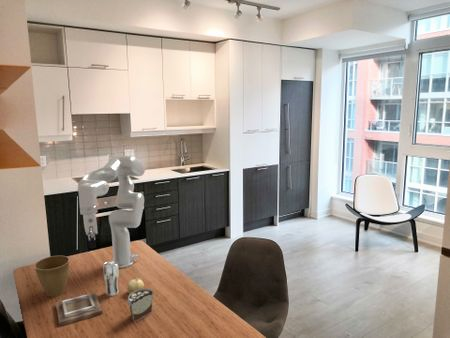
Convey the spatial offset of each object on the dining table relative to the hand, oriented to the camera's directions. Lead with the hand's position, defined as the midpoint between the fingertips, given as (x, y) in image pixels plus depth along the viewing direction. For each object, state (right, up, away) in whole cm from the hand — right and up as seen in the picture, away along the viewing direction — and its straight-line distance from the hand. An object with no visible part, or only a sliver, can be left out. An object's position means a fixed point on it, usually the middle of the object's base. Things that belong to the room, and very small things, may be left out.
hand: (91, 244), depth 163 cm
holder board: (-1, -27, -11) cm, 29 cm away
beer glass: (+9, -24, +3) cm, 26 cm away
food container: (+26, -27, -15) cm, 41 cm away
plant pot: (-19, -24, +3) cm, 31 cm away
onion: (+20, -24, +3) cm, 32 cm away
